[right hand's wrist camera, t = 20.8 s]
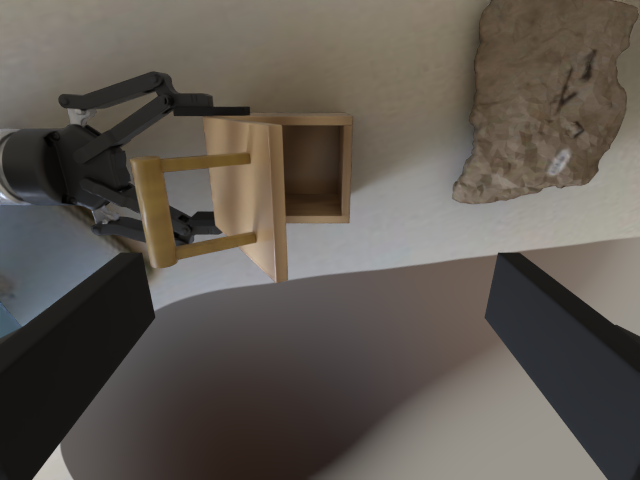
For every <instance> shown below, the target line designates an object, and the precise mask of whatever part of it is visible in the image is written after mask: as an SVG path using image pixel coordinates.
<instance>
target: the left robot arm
mask: <svg viewBox="0 0 640 480" xmlns="http://www.w3.org/2000/svg"><path fill="white" fill-rule="evenodd" d="M155 91H156V93H157V95H158V97H156V98H155V99H154V100H152V101H151V102H149V103H148V104H146V105H145V106H144V107H142V108H141V109H139V110H138V111H136V112H135V113H133V114H132V115H131V116H129V117H128V118H126V119H125V120H123V121H122V122H121V123H119V124H118V125H116V126H115V127H113V128H112V129H111V130H109V131H106V132H104V133H102V134H101V133H100V132H98V131H97V130H95V129H93V128H92V127H90V126H89V125H87V123H86V122H87V120H88V119H89V118H91V117H94V116H95V114H96V113H97V111H96V109H102V108H107V107H111V106H114V105H117V104H120V103H123V102H126V101H129V100H131V99H134V98H137V97H140V96H143V95H146V94H149V93H152V92H155ZM59 103H60V105H61V106H62V107H64V108H67V110H68V115H69V120H70V125H68V126H67V127H65V128H63V129H22V130H19V129H0V205H33V204H34V205H80V206H84V207H86V208H88V209H91V210H92V213H93V216H94V219H95V222H96V224H95V225H93V226H92V228H91V229H92V232H93V233H94V234H95V235H118V236H122V237H126V238H130V239H134V240H138V241H142V242H145V243H146V238H145V233H144V228H143V223H142V221H141V220H137V219H133V218H129V217H120V215H119V214H118V213H115V212H110V211H109V210H107V208H106V205H108V204H109V203H110V202H112V203H114V204H116V205H118V206H121V207H127V208H129V209H131V210H133V211H135V212H137V213H139V214H141V213H140V208H139V203H138V198H137V193H136V188H135V186H134V185H133V184H131V183H129V182H130V181H131V179H130V174H129V172H128V170H127V168H126V155H125V151H122V149H121V148H120V147H122V146H123V145H125V144H126V143H128V142H129V141H131V139H132V138H133V137H135V136H136V135H138V134H139V133H141V132H142V131H144V130H145V129H147V128H148V127H150V126H151V125H153V124H154V123H155V122H157V121H158V120H160V119H161V118H163V117H164V116H166V115H167V114H169V113H170V112H172V111H173V112H174V116H245V115H250V107H213V98H212V96H211V95H208V94H180V93H178V92H177V91H176V90H175V89H174V87H173V85H172V79H171V77H170V76H169V75H168V74H165V73H159V72H150V73H147V74H144V75H141V76H138V77H135V78H132V79H129V80H126V81H123V82H121V83H118V84H115V85H112V86H109V87H106V88H103V89H100V90H97V91H94V92H91V93H89V94H86V95H72V94H62V95H60V96H59ZM169 210H170V216H171V222H172V228H173V234H174V240H175V246H176V247H177V246H182V245H187V244H192V243H193V241H194V235H196V234H221V233H223V232H222V231H221V230H220V229H219V228H218V227H217V226H216V225H215V217H214V212H197V213H195V214H194V215H193V216H192V217H190V216H188V215H187V214H185V213H183V212H181V211H179V210H177V209H175V208H173V207H171V206H169ZM19 328H21V326H20V324H19V323H18V322H17V321H16V320H15V319H14V317H13V316H12V315H11V314H10V313H9V312H8V310H7V309H6V308H5V307H4V306H3V304H2V303H1V302H0V338H1V337H3V336H5V335H7V334H9V333H11V332H13V331H15V330H17V329H19Z"/></svg>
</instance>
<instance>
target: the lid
mask: <svg viewBox="0 0 640 480" xmlns="http://www.w3.org/2000/svg"><path fill="white" fill-rule="evenodd" d="M203 124H204V133H205V141H206V150H207V155H203V156H190V157H177V158H164V159H161V158H160V157H158V156H142V157H135V158H131V159H130V163H131V168H132V173H133V178H134V183H135V188H136V193H137V198H138V203H139V208H140V213H141V218H142V223H143V228H144V233H145V238H146V243H147V248H148V253H149V258H150V263H151V266H152V267H154V268H166V267H170V266H172V265H174V264H176V263H177V261H178V260H179V259H183V258H188V257H193V256H197V255H202V254H206V253H211V252H216V251H220V250H225V249H230V248H234V247H239V248H240V249H241V250H242V251H243V252H244V253H245V254H246V255H247V256H248V257H249V258H250V259H251V260H252V261H253V262H254V263H256V264H257V265H258V266H259V267H260V268H261V269H262V270H263V271H264V272H265V273H266V274H267V275H268V276H269V277H270V278H271V279H272V280H273V281H275V282H276V283H279V282H283V281H286V280H288V267H287V241H286V215H285V189H284V163H283V137H282V125H278V124H270V123H262V122H254V121H246V120H238V119H230V118H222V117H214V116H205V117H203ZM203 168H209V175H210V184H211V192H212V201H213V209H214V217H215V225H216V226H217V227H218V228H219V229H220V230H221V231H222V232H223V233H224V234H225V235H226V236H227V237H222V238H217V239H212V240H207V241H202V242H197V243H192V244H187V245H182V246H177V247H176V246H175V240H174V234H173V228H172V222H171V216H170V210H169V204H168V198H167V192H166V186H165V180H164V174H163V172H172V171H182V170H193V169H203Z"/></svg>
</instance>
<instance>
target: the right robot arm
mask: <svg viewBox="0 0 640 480" xmlns="http://www.w3.org/2000/svg"><path fill="white" fill-rule="evenodd" d="M154 319H155V314H154V309H153V304H152V299H151V294H150V290H149V285H148V280H147V275H146V270H145V265H144V261H143V256H142V253H120V254H118V255H117V256H116V257H114V258H113V259H112V260H110V261H109V262H108V263H106V264H105V265H104V266H102V267H101V268H100V269H99V270H97V271H96V272H95V273H93V274H92V275H91V276H89V277H88V278H87V279H85V280H84V281H83V282H81V283H80V284H79V285H77V286H76V287H75V288H74V289H72V290H71V291H70V292H68V293H67V294H66V295H64V296H63V297H62V298H60V299H59V300H58V301H56V302H55V303H54V304H53V305H51V306H50V307H49V308H47V309H46V310H45V311H43V312H42V313H41V314H39V315H38V316H37V317H35V318H34V319H33V320H31V321H30V322H29V323H28V324H26V325H25V326H23V327H21V328H19V329H17V330H15V331H13V332H11V333H9V334H7V335H5V336H3V337H1V338H0V480H32V479H33V478H34V477H35V475H36V474H37V473H38V471H39V470H40V469H41V467H42V466H43V465H44V463H45V462H46V461H47V459H48V458H49V457H50V455H51V454H52V453H53V452H54V450H55V449H56V448H57V446H58V445H59V444H60V442H61V441H62V440H63V438H64V437H65V436H66V434H67V433H68V432H69V430H70V429H71V428H72V427H73V425H74V424H75V423H76V421H77V420H78V419H79V417H80V416H81V415H82V413H83V412H84V411H85V409H86V408H87V407H88V405H89V404H90V403H91V402H92V400H93V399H94V398H95V396H96V395H97V394H98V392H99V391H100V390H101V388H102V387H103V386H104V384H105V383H106V382H107V381H108V379H109V378H110V377H111V375H112V374H113V373H114V371H115V370H116V369H117V367H118V366H119V365H120V363H121V362H122V361H123V359H124V358H125V357H126V355H127V354H128V353H129V352H130V350H131V349H132V348H133V346H134V345H135V344H136V342H137V341H138V340H139V338H140V337H141V336H142V334H143V333H144V332H145V331H146V329H147V328H148V327H149V325H150V324H151V323H152V321H153V320H154ZM485 319H486V320H487V321H488V323H489V324H490V325H491V327H492V328H493V329H494V331H495V332H496V333H497V334H498V336H499V337H500V338H501V340H502V341H503V342H504V344H505V345H506V346H507V348H508V349H509V350H510V352H511V353H512V354H513V356H514V357H515V358H516V359H517V361H518V362H519V363H520V365H521V366H522V367H523V369H524V370H525V371H526V373H527V374H528V375H529V377H530V378H531V379H532V380H533V382H534V383H535V384H536V386H537V387H538V388H539V390H540V391H541V392H542V394H543V395H544V396H545V398H546V399H547V400H548V402H549V403H550V404H551V405H552V407H553V408H554V409H555V411H556V412H557V413H558V415H559V416H560V417H561V419H562V420H563V421H564V423H565V424H566V425H567V426H568V428H569V429H570V430H571V432H572V433H573V434H574V436H575V437H576V438H577V440H578V441H579V442H580V443H581V445H582V446H583V448H584V449H585V450H586V452H587V453H588V454H589V455H590V457H591V458H592V459H593V461H594V462H595V463H596V465H597V466H598V467H599V469H600V470H601V471H602V473H603V474H604V475H605V477H606V478H607V479H608V480H640V336H638V335H636V334H634V333H632V332H630V331H628V330H626V329H624V328H622V327H620V326H618V325H614V324H612V323H611V322H610V321H609V320H607V319H606V318H605V317H603V316H602V315H601V314H599V313H598V312H597V311H595V310H594V309H593V308H591V307H590V306H589V305H587V304H586V303H585V302H584V301H582V300H581V299H580V298H578V297H577V296H576V295H574V294H573V293H572V292H570V291H569V290H568V289H566V288H565V287H564V286H563V285H561V284H560V283H559V282H557V281H556V280H555V279H553V278H552V277H551V276H549V275H548V274H547V273H545V272H544V271H543V270H541V269H540V268H539V267H538V266H536V265H535V264H534V263H532V262H531V261H530V260H528V259H527V258H526V257H524V256H523V255H522V254H520V253H498V256H497V261H496V265H495V270H494V275H493V280H492V285H491V290H490V295H489V299H488V304H487V309H486V314H485Z"/></svg>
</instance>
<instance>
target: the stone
mask: <svg viewBox="0 0 640 480" xmlns="http://www.w3.org/2000/svg"><path fill="white" fill-rule="evenodd" d="M638 15H639V14H638V10H637V8H636V7H634V6H632V5H628V4H625V3H622V2H617V1H612V0H492V1H491V3H490V4H489V6H488V7H487V8H486V9H485V10H484V11H483V13H482V17H481V19H480V24H479V25H480V31H479V36H480V41H481V45H480V46H479V48H478V50H477V54H476V57H475V60H474V70H475V73H476V90H477V91H476V93H475V95H474V105H473V108H472V112H471V114H470V118H469V122H470V124H472V125H473V126H474V127H475V131H474V133H473V136H474V141H473V146H474V148H473V149H472V155H471V156H470V158H469V159H467V160H466V162H465V164H464V167H463V173H462V175H461V176H460V177H459V179H458V180H457V181H456V182H455V183H454V185H453V195H452V199H454V200H456V201H458V202H460V203H468V204H480V203H492V202H496V201H499V200H504V201H506V200H509V199H514V198H517V197H519V196H521V195H527V194H532V193H538V192H540V191H541V190H542V189H543V188H546V187H550V186H556V187H557V188H563V187H565V186H575V185H578V186H582V185H585V184H587V183H589V182H590V180H591V179H592V178H593V177H594V176H595V174H596V173H597V172H598V171H599V170H598V163H599V160H600V159H601V157H602V156H603V154H604V153H605V152H606V151H607V150H608V149H610V145H611V143H612V142H613V140H614V139H615V137H616V135H617V133H618V131H619V129H620V126H621V123H622V121H623V118H624V115H625V111H626V100H627V96H626V92H625V90H624V88H622V87H621V86H620V84H619V83H618V80H617V68H616V59H617V57H618V56H619V55H620V53H621V52H623V51H624V50H626V49H627V48H628V47H629V37H630V33H631V31H632V28H633V25H634V23H635V22H636V20H637V18H638Z"/></svg>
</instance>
